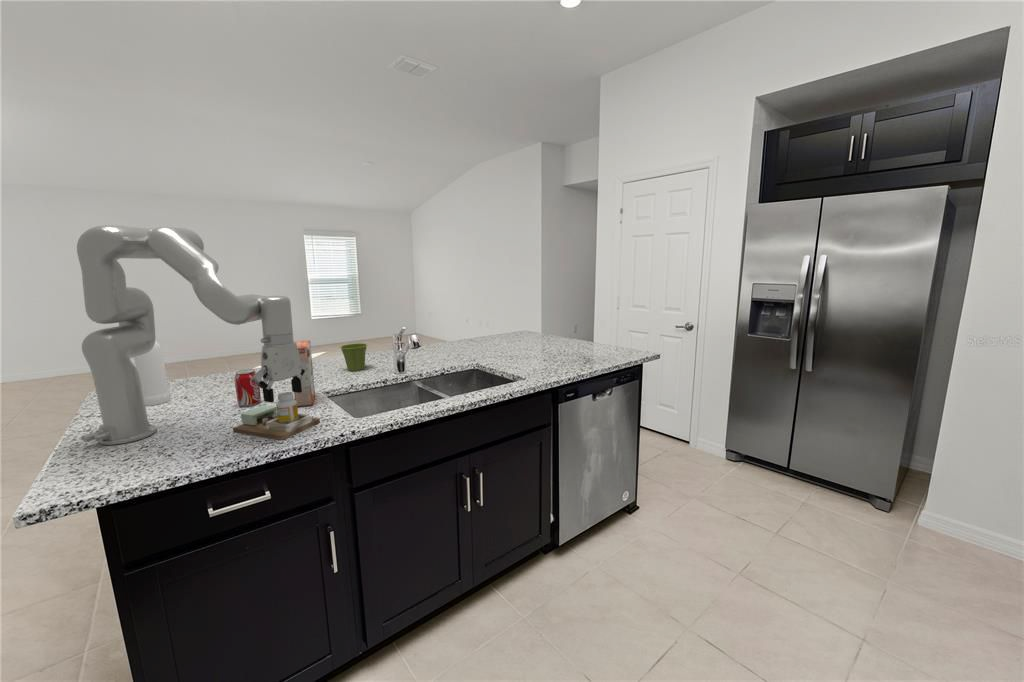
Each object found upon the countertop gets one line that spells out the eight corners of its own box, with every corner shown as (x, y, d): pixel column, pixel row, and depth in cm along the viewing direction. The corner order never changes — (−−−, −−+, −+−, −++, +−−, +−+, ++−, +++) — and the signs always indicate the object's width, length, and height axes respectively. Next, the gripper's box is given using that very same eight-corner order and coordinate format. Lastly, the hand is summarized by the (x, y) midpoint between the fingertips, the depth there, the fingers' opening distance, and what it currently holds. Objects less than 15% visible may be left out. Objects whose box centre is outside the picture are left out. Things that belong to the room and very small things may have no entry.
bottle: (136, 405, 151) (120, 321, 145) (159, 398, 158) (145, 318, 153) (154, 406, 149) (138, 321, 143) (176, 399, 157) (162, 318, 151)
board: (281, 440, 119) (280, 429, 118) (233, 431, 125) (231, 421, 125) (320, 422, 131) (318, 412, 131) (274, 415, 138) (273, 406, 137)
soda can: (250, 408, 146) (245, 374, 144) (233, 406, 147) (228, 373, 145) (266, 401, 153) (261, 368, 150) (249, 400, 154) (244, 368, 152)
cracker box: (314, 405, 147) (308, 346, 143) (295, 407, 145) (288, 347, 141) (316, 394, 160) (310, 339, 156) (298, 396, 158) (292, 340, 154)
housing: (254, 425, 126) (252, 415, 125) (242, 423, 128) (240, 413, 127) (277, 416, 133) (276, 406, 133) (265, 414, 135) (264, 405, 134)
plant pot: (363, 365, 204) (361, 342, 202) (373, 369, 195) (371, 345, 193) (338, 369, 197) (336, 345, 194) (347, 374, 188) (345, 349, 185)
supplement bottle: (294, 420, 130) (290, 390, 128) (302, 424, 127) (298, 393, 125) (275, 425, 126) (271, 394, 124) (283, 430, 123) (279, 398, 121)
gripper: (261, 346, 112) (267, 407, 115) (312, 335, 128) (316, 390, 131) (240, 343, 115) (247, 404, 118) (293, 333, 131) (297, 387, 134)
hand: (283, 396), depth 125 cm, fingers open, 9 cm apart
